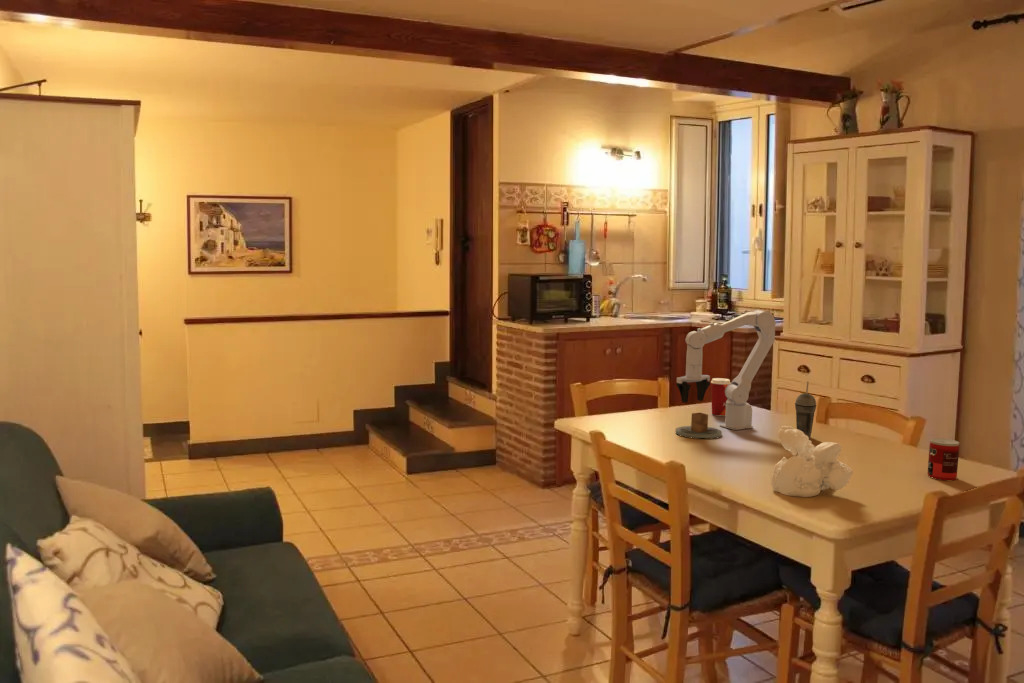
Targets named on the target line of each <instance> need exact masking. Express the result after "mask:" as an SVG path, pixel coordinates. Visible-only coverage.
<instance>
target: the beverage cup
mask: <svg viewBox="0 0 1024 683" xmlns="http://www.w3.org/2000/svg"><path fill="white" fill-rule="evenodd" d="M809 382H810V381H806V390H805V391H806V392H805V393H800V394H799V395H798V396H797V397H796V398H795V403H794V407H795V418H796V420H795V421H796V423H795V424H796V429H798V430H801V431H802V432H804V434H805V435H806V436H808V437H809V439H811V438H812V437H811V436H812V431H813V424H814V417H815V412H816V409H817V401H816V398H815V397H814V396H813V395H812V394H811V393H809Z"/></svg>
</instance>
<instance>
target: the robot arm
mask: <svg viewBox="0 0 1024 683" xmlns="http://www.w3.org/2000/svg"><path fill="white" fill-rule="evenodd" d="M776 324H777V321H776V318H775V317H774V315H773V314H772V313H771V312H770V311H766V310H765V311H764V310H763V309H758V308H757V309H755V310H753V311H752V310H751V311H748V312H745V313H743V314H741V315H739V316H736V317H734V318H732V319H729V320H728V321H725V322H723V323H721V324H720V323H718V322H713V321H712V322H710V323H709V324H708V325H707V326H704V327H701V328H700V327H699V328H696V329H697V331H696V330H693V331H690V332H688V333H687V334H686V336H685V337H686V338H685V339H684V340H685V343H686V347H687V348H686V355H685V356H686V357H685V359H686V360H685V362H686V363H685V375H682V376H680V377H679V376H678V377H676V381H675V382H676V384H675V385H676V387H677V389H678V391H679V393H680V398H681V403H684V404H687V403H688V401H689V392H690V388H691V386H692V385H691V384H688V383H695V385H696V399H697V401H698V402H703V401H704V397H705V394H706V392H707V390H708V388H709V387H710V385H711V381H710V380H711V375H708V374H703V358H704V357H703V355H704V353H703V347H704V346H705V344H709V343H712V342H714V341H716V340H719V339H721V338H723V337H724V335H725V333H727V332H728V333H729V332H730V331H733V330H735V329H738V328H741V327H744V326H749V327H753V329H755V330H756V334H757V336H758V339H757V341H756V343H755V344H754V346H753V348H752V350H751V352H750V353H749V355H748V357H747V359H746V361H745V362H744V363H743V366H742V368H741V370H740V372H739V374H738V375H737V376H736V377H734V378H733V379H732V381H731V382H730V383H731V384H729V385H728V386H727V387H726V389H725V395H726V397H727V398H728V399H727V401H726V413H725V416H724V424H723V423H722V424H719V426H720V427H723V428H726V429H730V430H734V431H737V430H745V428H746V429H752V427H753V428H754V425H752V423H753V407H752V405H751V404H750V403H748V400H749V394H750V391H751V388H752V381H753V380H754V378H755V376H756V374H757V372H758V371H759V369H760V367H761V365H762V364H763V362H764V360H765V358H766V357H767V355H768V353H769V351H770V349H771V347H772V346H773V343H775V340H776Z"/></svg>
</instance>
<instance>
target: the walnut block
mask: <svg viewBox="0 0 1024 683" xmlns="http://www.w3.org/2000/svg"><path fill="white" fill-rule="evenodd" d="M708 424H709V414H708V413H703V412H693V413H691V423H690V426H691V430H692V431H696V432H706V431H707V429H708V427H709V425H708Z"/></svg>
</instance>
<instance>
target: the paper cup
mask: <svg viewBox="0 0 1024 683" xmlns="http://www.w3.org/2000/svg"><path fill="white" fill-rule="evenodd" d="M731 383H732V382H731V380H730V378H722V377H714V378H713V377H712V379H711V381H710V385H711V415H712V414H714V415H713V416H715V415H725V413H726V401H727V399H728V398H727V397H726V395H725V389H726V387H727V386H728V385H729V384H731Z"/></svg>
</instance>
